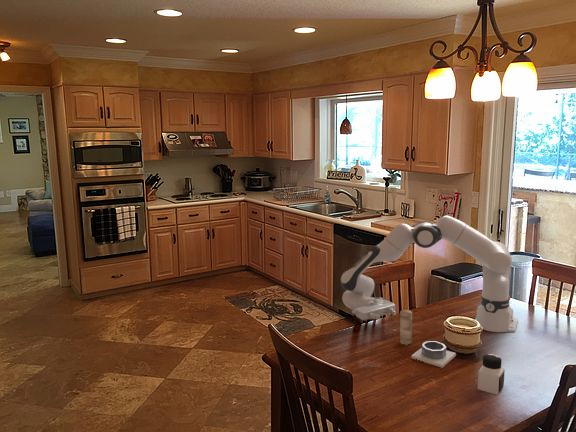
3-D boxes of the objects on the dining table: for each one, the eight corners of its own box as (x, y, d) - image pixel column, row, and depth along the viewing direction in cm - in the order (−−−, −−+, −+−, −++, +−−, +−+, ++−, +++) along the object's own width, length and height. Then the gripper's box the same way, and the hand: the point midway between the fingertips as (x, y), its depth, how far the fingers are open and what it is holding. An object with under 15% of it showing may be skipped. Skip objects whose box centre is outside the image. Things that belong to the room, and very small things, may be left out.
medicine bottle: (498, 395, 165) (500, 363, 163) (477, 389, 169) (478, 357, 167) (503, 386, 171) (505, 355, 169) (483, 381, 175) (484, 350, 173)
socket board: (425, 347, 204) (426, 336, 203) (455, 355, 195) (456, 344, 194) (411, 358, 194) (411, 346, 193) (442, 367, 185) (442, 356, 185)
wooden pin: (403, 339, 212) (403, 309, 209) (413, 342, 208) (414, 311, 206) (397, 343, 208) (398, 312, 206) (408, 346, 205) (408, 315, 202)
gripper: (349, 304, 223) (369, 313, 211) (383, 296, 233) (403, 304, 221) (349, 317, 224) (369, 327, 212) (383, 308, 234) (403, 317, 223)
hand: (386, 315), depth 217 cm, fingers open, 8 cm apart
